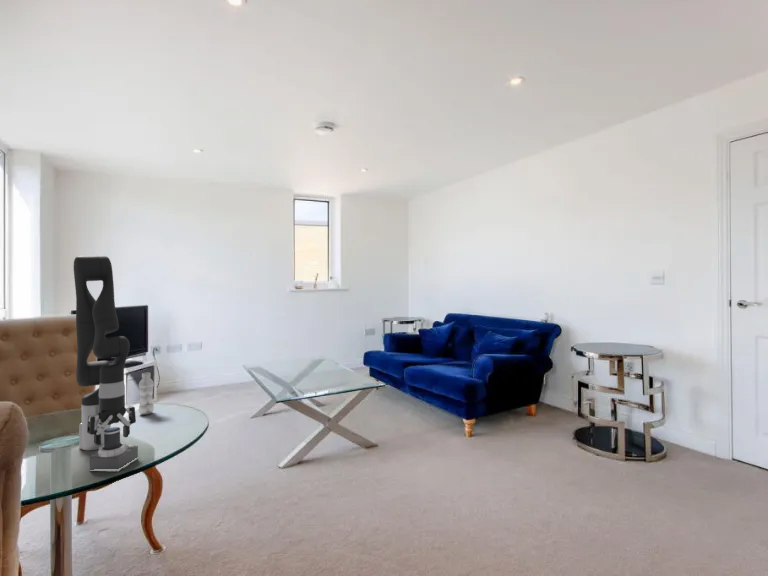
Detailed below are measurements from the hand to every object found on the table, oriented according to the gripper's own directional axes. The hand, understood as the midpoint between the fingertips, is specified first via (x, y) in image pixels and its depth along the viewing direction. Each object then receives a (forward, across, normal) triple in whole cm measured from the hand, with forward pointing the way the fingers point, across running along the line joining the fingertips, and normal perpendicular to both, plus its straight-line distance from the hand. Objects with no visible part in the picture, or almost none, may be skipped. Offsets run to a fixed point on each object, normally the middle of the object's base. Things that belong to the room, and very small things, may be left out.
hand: (112, 440), depth 140 cm
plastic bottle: (+9, +35, +48) cm, 60 cm away
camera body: (+9, +1, 0) cm, 9 cm away
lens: (+4, 0, 0) cm, 4 cm away
